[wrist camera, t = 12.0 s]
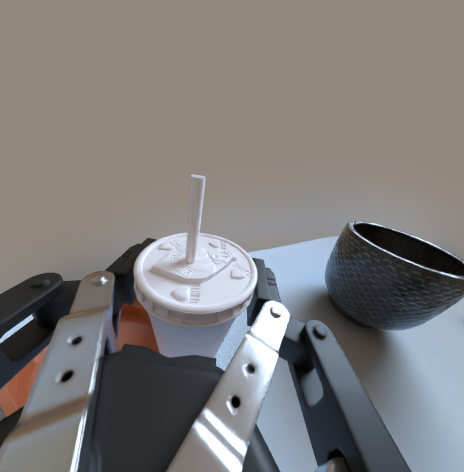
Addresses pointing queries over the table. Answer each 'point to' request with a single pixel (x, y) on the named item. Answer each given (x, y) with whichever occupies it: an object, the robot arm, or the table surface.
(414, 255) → the planter
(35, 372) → the bowl
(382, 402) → the table surface
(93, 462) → the robot arm
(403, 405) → the table surface
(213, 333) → the smoothie
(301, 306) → the table surface
